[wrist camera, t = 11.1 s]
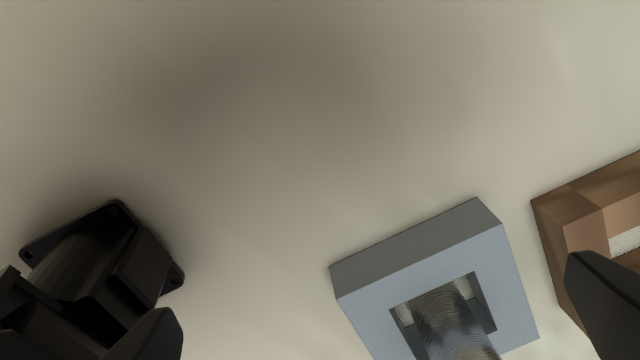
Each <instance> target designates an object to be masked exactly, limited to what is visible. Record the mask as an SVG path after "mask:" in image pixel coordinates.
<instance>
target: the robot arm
mask: <svg viewBox="0 0 640 360" xmlns="http://www.w3.org/2000/svg"><path fill="white" fill-rule="evenodd" d="M111 207H114V208H116V209H117V210H118V212H115V211H113V210H112V209H111ZM28 251H29V252H32V253H33V254H34V255H33V254H30V253H29V252H28ZM19 257H20V258H21V259H22V260H23V261H24V262H25V263H26V264H27V265H28V266H29V267H30V268H32V269H33V271H32V272H31V273H30V274H29V275H28V277H27V278H26V279H25V278H23V277H22V276H20V274H21V272H20V271H18V270H17V269H16V268H14V267H13V266H11V265H8V266H7V267H5V268H4V269H3V270H1V271H0V360H180V358H181V352H182V345H183V331H182V328H181V326H180V324H179V322H178V320H177V318H176V316H175V314H174V312H173V311H172V309H171V308H169V307H162V308H155V307H156V304H157V301H158V298H159V297H161V296H163V295H165V294H167V293H169V292H171V291H173V290H175V289H177V288H179V287H181V286H182V285H183V283H184V279H185V276H184V274H183V273H182V272H181V270H180V269H179V268H178V267H177V266H176V265H175V263H174V262H173V261H172V257H171V256H170V255H169V254H168V252H167V251H166V250H165V249H164V248H163V247H162V245H161V244H160V243H159V242H158V241H157V239H156V238H155V237H154V236H153V235H152V234H151V232H150V231H149V230H148V229H147V228H146V227H143V226H142V225H141V223H140V222H139V221H138V220H137V219H136V218H135V216H134V215H133V214H132V213H131V212H130V211H129V209H128V208H127V207H126V206H125V205H124V204H123V203H122V202H121V201H119V200H110V201H108V202H106V203H104V204H102V205H100V206H98V207H97V208H95V209H93V210H91V211H89V212H87V213H85V214H83V215H81V216H79V217H77V218H75V219H73V220H72V221H70V222H68V223H66V224H64V225H62V226H60V227H58V228H56V229H54V230H52V231H50V232H48V233H47V234H45V235H43V236H41V237H39V238H37V239H35V240H33V241H31V242H29V243H27V244H26V245H24V246H23V247H22V248H21V249H20V250H19ZM172 278H177V279H178V280H177V281H176V280H173V279H172ZM563 284H564V288H565V290H566V293H567V295H568V297H569V299H570V301H571V303H572V305H573V307H574V309H575V311H576V313H577V314H578V316H579V318H580V320H581V322H582V324H583V326H584V328H585V330H586V332H587V334H588V336H589V338H590V340H591V342H592V344H593V346H594V348H595V350H596V352H597V354H598V356H599V357H600V359H601V360H640V273H638V272H636V271H633V270H631V269H629V268H627V267H625V266H623V265H621V264H619V263H617V262H615V261H613V260H611V259H609V258H607V257H605V256H603V255H601V254H599V253H597V252H595V251H592V250H587V249H586V250H579V251H572V252H570V253H569V254H568V255H567V259H566V265H565V271H564V277H563Z"/></svg>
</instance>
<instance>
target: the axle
mask: <svg viewBox="0 0 640 360" xmlns="http://www.w3.org/2000/svg"><path fill="white" fill-rule="evenodd" d="M406 305H407V307H408V309H409V311H410V314H411V316H412V318H413V321H414V323H415V325H416V328H417V330H418V332H419V335H420V337H421V339H422V342H423V344H424V346H425V349H426V351H427V353H428V356H429V358H430V360H502V359H501V357H500V356H499V354H498V352H497V351H496V349H495V348H494V346H493V344H492V343H491V341H490V340H489V338H488V336H487V335H486V333H485V332H484V330H483V328H482V327H481V325H480V324H479V322H478V320H477V319H476V317H475V315H474V314H473V312H472V311H471V309H470V307H469V306H468V304H467V303H466V301H465V299H464V298H463V296H462V295H461V293H460V291H459V290H458V288H457V287H456V285H455V283H454V282H453V281H450V282H448V283H446V284H444V285H442V286H439V287H437V288H435V289H433V290H430V291H428V292H426V293H424V294H422V295H419V296H417V297H415V298H413V299H410V300H408V301H406Z"/></svg>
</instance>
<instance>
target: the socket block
mask: <svg viewBox="0 0 640 360" xmlns="http://www.w3.org/2000/svg"><path fill="white" fill-rule="evenodd" d="M329 269H330V274H331V279H332V283H333V288H334V293H335V298H336V301H337V302H338V304H339V305H340V307H341V308H342V310H343V312H344V313H345V315H346V316H347V318H348V319H349V321H350V323H351V324H352V326H353V327H354V329H355V330H356V332H357V333H358V335H359V337H360V338H361V340H362V341H363V343H364V344H365V346H366V348H367V349H368V351H369V352H370V354H371V355H372V357H373V358H374V360H430V358H429V356H428V353H427V351H426V349H425V346H424V344H423V342H422V339H421V337H420V335H419V332H418V330H417V328H416V325H415V324H414V325H412V326H410V327H407V328H404V326H403V325H402V323H401V321H400V319H399V317H398V315H397V314H396V312H395V310H394V308H393V307H395V306H397V305H399V304H402V303H404V302H406V301H408V300H410V299H413V298H415V297H417V296H419V295H422V294H424V293H426V292H428V291H430V290H433V289H435V288H437V287H439V286H442V285H444V284H446V283H448V282H450V281H453V280H455V279H457V278H459V277H462V276H464V275H466V274H467V277H468V279H469V282H470V284H471V287H472V289H473V291H474V294H475V296H476V297H475V298H473V299H471V300H468V301H466V303H467V304H468V306H469V307H470V309H471V311H472V312H473V314H474V315H475V317H476V319H477V320H478V322H479V324H480V325H481V327H482V328H483V330H484V332H485V333H486V335H487V336H488V338H489V340H490V341H491V343H492V344H493V346H494V348H495V349H496V351H497V352H498V354H499V355H502V354H504V353H506V352H509V351H511V350H513V349H516V348H518V347H520V346H523V345H525V344H527V343H530V342H532V341H535V340H537V339H539V338H540V337H539V333H538V330H537V327H536V324H535V321H534V318H533V315H532V312H531V309H530V306H529V303H528V300H527V297H526V294H525V291H524V288H523V285H522V281H521V278H520V275H519V272H518V269H517V266H516V263H515V260H514V257H513V254H512V251H511V248H510V245H509V242H508V239H507V236H506V233H505V229H504V226H503V223H502V222H501V221H500V220H499V219H498V218H497V217H496V216H495V215H494V214H493V213H492V212H491V211H490V210H489V209H488V208H487V207H486V206H485V205H484V204H483V203H482V202H481V201H480V200H479V199H478V198H477V197H476V198H474V199H472V200H470V201H468V202H465V203H463V204H461V205H459V206H457V207H455V208H453V209H451V210H448V211H446V212H444V213H442V214H440V215H438V216H436V217H434V218H431V219H429V220H427V221H425V222H423V223H421V224H419V225H416V226H414V227H412V228H410V229H408V230H406V231H404V232H402V233H399V234H397V235H395V236H393V237H391V238H389V239H387V240H385V241H382V242H380V243H378V244H376V245H374V246H372V247H370V248H368V249H365V250H363V251H361V252H359V253H357V254H355V255H353V256H350V257H348V258H346V259H344V260H342V261H340V262H338V263H336V264H333V265H331V266H329Z"/></svg>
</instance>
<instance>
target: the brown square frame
mask: <svg viewBox="0 0 640 360" xmlns="http://www.w3.org/2000/svg"><path fill="white" fill-rule="evenodd" d="M531 204H532V208H533V211H534V215H535V219H536V222H537V226H538V230H539V233H540V237H541V240H542V244H543V248H544V251H545V255H546V258H547V262H548V266H549V269H550V273H551V276H552V280H553V284H554V287H555V291H556V294H557V298H558V302H559V305H560V307H561V308H562V309H563V310H564V311H565V313H566V314H567V315H568V316H569V317H570V318H571V319H572V320H573V321H574V322H575V324H576V325H577V326H578V327H579V328H580V329H581V330H582V331H583V332H584V333H585V335H586V336H587V337H588V338H589V336H588V334H587V332H586V330H585V328H584V326H583V324H582V322H581V320H580V318H579V316H578V314H577V313H576V311H575V309H574V307H573V305H572V303H571V301H570V299H569V297H568V295H567V293H566V290H565V288H564V284H563V277H564V271H565V265H566V259H567V255H568V254H569V253H570V252H572V251H579V250H586V249H587V250H592V251H595V252H597V253H599V254H601V255H603V256H605V257H607V258H609V259H611V254H610V249H609V243H608V239H609V238H612V237H614V236H616V235H618V234H621V233H623V232H625V231H627V230H630V229H632V228H634V227H636V226H639V225H640V151H638V152H635V153H633V154H631V155H629V156H627V157H625V158H622V159H620V160H618V161H616V162H614V163H612V164H609V165H607V166H605V167H603V168H601V169H599V170H596V171H594V172H592V173H590V174H588V175H586V176H583V177H581V178H579V179H577V180H575V181H573V182H570V183H568V184H566V185H564V186H562V187H560V188H557V189H555V190H553V191H551V192H549V193H547V194H544V195H542V196H540V197H538V198H536V199H534V200H531ZM612 260H613V261H615V262H617V263H619V264H621V265H623V266H625V267H627V268H629V269H631V270H633V271H636V272H638V273H640V247H639V248H637V249H635V250H633V251H630V252H628V253H626V254H623V255H621V256H619V257H617V258H614V259H612ZM589 339H590V338H589Z"/></svg>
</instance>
